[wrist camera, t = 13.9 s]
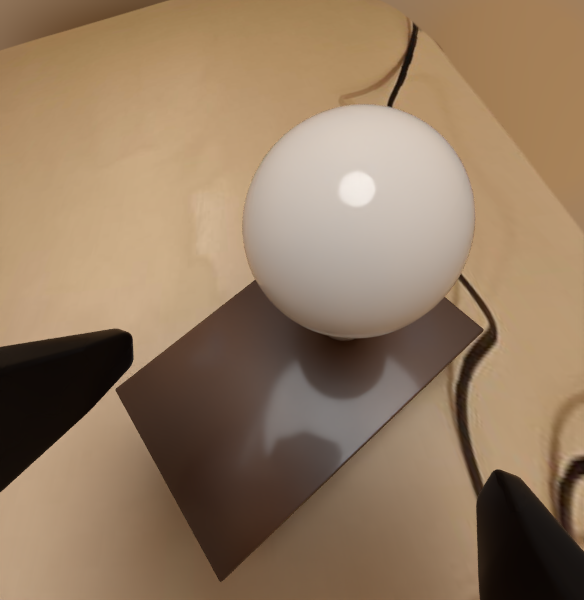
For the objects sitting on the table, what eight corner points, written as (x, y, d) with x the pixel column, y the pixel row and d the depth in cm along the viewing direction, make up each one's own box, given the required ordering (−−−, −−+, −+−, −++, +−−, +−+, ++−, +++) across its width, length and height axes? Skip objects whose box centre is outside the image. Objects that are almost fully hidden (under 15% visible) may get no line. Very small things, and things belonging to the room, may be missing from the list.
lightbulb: (322, 247, 18) (311, 20, 8) (428, 299, 17) (578, 85, 6) (258, 338, 17) (148, 190, 7) (368, 408, 15) (446, 348, 5)
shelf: (249, 545, 17) (220, 583, 13) (161, 399, 21) (114, 389, 17) (451, 354, 20) (485, 329, 16) (340, 254, 24) (342, 211, 19)
